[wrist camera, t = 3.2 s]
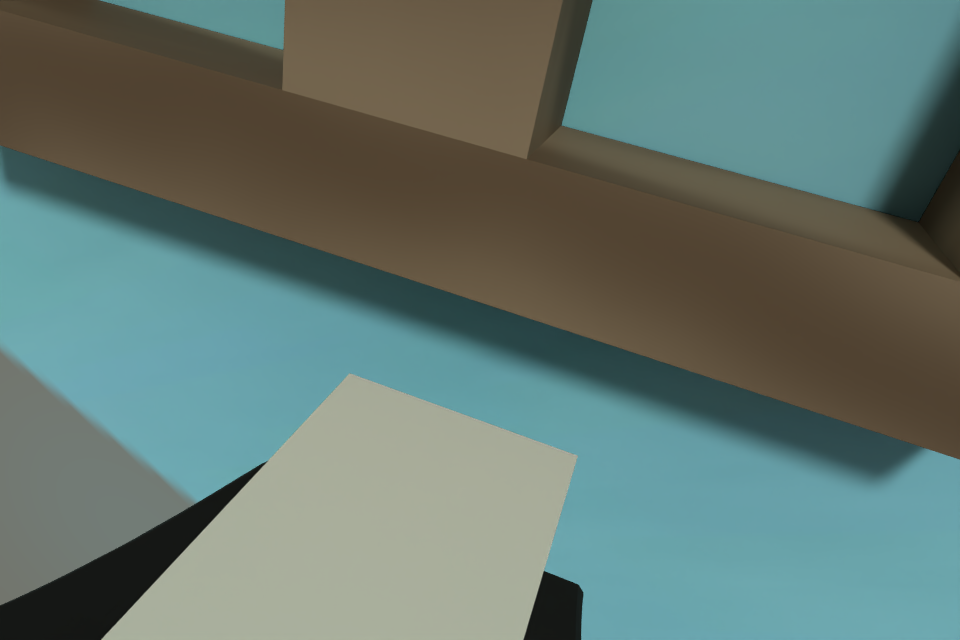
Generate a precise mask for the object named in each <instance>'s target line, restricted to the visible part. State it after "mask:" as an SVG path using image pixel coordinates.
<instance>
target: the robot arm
mask: <svg viewBox="0 0 960 640" xmlns="http://www.w3.org/2000/svg"><path fill="white" fill-rule="evenodd" d="M267 462H268V461H267ZM267 462H265V463H262V464H261V465H259V466H257V467H256V468H254V469H252V470H251V471H249V472H247V473H246V474H244V475H242V476H241V477H239V478H237V479H236V480H234V481H233V482H231V483H229V484H228V485H226V486H224V487H223V488H221V489H219V490H218V491H216V492H214V493H213V494H211V495H209V496H208V497H206V498H204V499H203V500H201V501H199V502H198V503H196V504H194V505H193V506H191V507H189V508H188V509H186V510H184V511H183V512H181V513H179V514H177V515H176V516H174V517H172V518H170V519H169V520H167V521H165V522H163V523H162V524H160V525H158V526H156V527H154V528H153V529H151V530H149V531H147V532H146V533H144V534H142V535H140V536H139V537H137V538H135V539H133V540H132V541H130V542H128V543H126V544H124V545H122V546H121V547H118V548H117V549H115V550H113V551H111V552H109V553H107V554H105V555H103V556H101V557H99V558H97V559H95V560H93V561H91V562H90V563H88V564H86V565H84V566H82V567H80V568H78V569H76V570H74V571H72V572H70V573H68V574H66V575H65V576H62V577H60V578H58V579H56V580H54V581H52V582H50V583H48V584H46V585H44V586H42V587H40V588H38V589H36V590H33V591H31V592H29V593H27V594H25V595H22V596H20V597H18V598H16V599H14V600H12V601H9V602H7V603H5V604H3V605H0V640H101V639H102V638H103V637H104V636H105V635H106V634H107V633H108V632H109V631H110V630H111V629H112V628H113V627H114V625H115V624H116V623H117V622H118V621H119V620H120V619H121V618H122V617H123V616H124V615H125V614H126V613H127V612H128V610H129V609H130V608H131V607H132V606H133V605H134V604H135V603H136V602H137V601H138V600H139V599H140V598H141V597H142V595H143V594H144V593H145V592H146V591H147V590H148V589H149V588H150V587H151V586H152V585H153V584H154V583H155V582H156V580H157V579H158V578H159V577H160V576H161V575H162V574H163V573H164V572H165V571H166V570H167V569H168V568H169V567H170V565H171V564H172V563H173V562H174V561H175V560H176V559H177V558H178V557H179V556H180V555H181V554H182V553H183V552H184V550H185V549H186V548H187V547H188V546H189V545H190V544H191V543H192V542H193V541H194V540H195V539H196V538H197V537H198V535H199V534H200V533H201V532H202V531H203V530H204V529H205V528H206V527H207V526H208V525H209V524H210V523H211V522H212V520H213V519H214V518H215V517H216V516H217V515H218V514H219V513H220V512H221V511H222V510H223V509H224V508H225V507H226V505H227V504H228V503H229V502H230V501H231V500H232V499H233V498H234V497H235V496H236V495H237V494H238V493H239V492H240V490H241V489H242V488H243V487H244V486H245V485H246V484H247V483H248V482H249V481H250V480H251V479H252V478H253V477H254V475H255V474H256V473H257V472H258V471H259V470H260V469H261V468H262V467H263V466H264V465H265V464H266V463H267ZM582 602H583V591H582V590H581V588H580V586H579V585H578V584H575V583H573V582H570V581H568V580H565V579H563V578H560V577H558V576H555V575H553V574H550V573H548V572H545V571H544V572H543V575H542V579H541V582H540V585H539V589H538V592H537V595H536V599H535V602H534V606H533V609H532V612H531V616H530V619H529V622H528V626H527V629H526V633H525V636H524V639H523V640H581V619H582Z"/></svg>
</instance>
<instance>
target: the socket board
mask: <svg viewBox="0 0 960 640" xmlns="http://www.w3.org/2000/svg"><path fill="white" fill-rule="evenodd" d="M591 4H592V0H285V21H284V50H280V49H277V48H273V47H269V46H266V45H262V44H258V43H255V42H251V41H247V40H244V39H240V38H236V37H232V36H229V35H225V34H221V33H218V32H214V31H210V30H207V29H203V28H199V27H196V26H192V25H188V24H185V23H181V22H177V21H173V20H170V19H166V18H162V17H159V16H155V15H151V14H148V13H144V12H140V11H137V10H133V9H129V8H125V7H122V6H118V5H114V4H111V3H107V2H103V1H100V0H0V145H1V146H4V147H7V148H10V149H13V150H16V151H19V152H22V153H25V154H28V155H32V156H35V157H38V158H41V159H44V160H47V161H50V162H53V163H56V164H59V165H62V166H65V167H68V168H71V169H74V170H77V171H80V172H83V173H86V174H90V175H93V176H96V177H99V178H102V179H105V180H108V181H111V182H114V183H117V184H120V185H123V186H126V187H129V188H132V189H135V190H138V191H141V192H145V193H148V194H151V195H154V196H157V197H160V198H163V199H166V200H169V201H172V202H175V203H178V204H181V205H184V206H187V207H190V208H193V209H196V210H200V211H203V212H206V213H209V214H212V215H215V216H218V217H221V218H224V219H227V220H230V221H233V222H236V223H239V224H242V225H245V226H248V227H251V228H254V229H258V230H261V231H264V232H267V233H270V234H273V235H276V236H279V237H282V238H285V239H288V240H291V241H294V242H297V243H300V244H303V245H306V246H309V247H313V248H316V249H319V250H322V251H325V252H328V253H331V254H334V255H337V256H340V257H343V258H346V259H349V260H352V261H355V262H358V263H361V264H364V265H367V266H371V267H374V268H377V269H380V270H383V271H386V272H389V273H392V274H395V275H398V276H401V277H404V278H407V279H410V280H413V281H416V282H419V283H422V284H426V285H429V286H432V287H435V288H438V289H441V290H444V291H447V292H450V293H453V294H456V295H459V296H462V297H465V298H468V299H471V300H474V301H477V302H480V303H484V304H487V305H490V306H493V307H496V308H499V309H502V310H505V311H508V312H511V313H514V314H517V315H520V316H523V317H526V318H529V319H532V320H535V321H539V322H542V323H545V324H548V325H551V326H554V327H557V328H560V329H563V330H566V331H569V332H572V333H575V334H578V335H581V336H584V337H587V338H590V339H593V340H597V341H600V342H603V343H606V344H609V345H612V346H615V347H618V348H621V349H624V350H627V351H630V352H633V353H636V354H639V355H642V356H645V357H648V358H652V359H655V360H658V361H661V362H664V363H667V364H670V365H673V366H676V367H679V368H682V369H685V370H688V371H691V372H694V373H697V374H700V375H703V376H707V377H710V378H713V379H716V380H719V381H722V382H725V383H728V384H731V385H734V386H737V387H740V388H743V389H746V390H749V391H752V392H755V393H758V394H761V395H765V396H768V397H771V398H774V399H777V400H780V401H783V402H786V403H789V404H792V405H795V406H798V407H801V408H804V409H807V410H810V411H813V412H816V413H820V414H823V415H826V416H829V417H832V418H835V419H838V420H841V421H844V422H847V423H850V424H853V425H856V426H859V427H862V428H865V429H868V430H871V431H874V432H878V433H881V434H884V435H887V436H890V437H893V438H896V439H899V440H902V441H905V442H908V443H911V444H914V445H917V446H920V447H923V448H926V449H929V450H933V451H936V452H939V453H942V454H945V455H948V456H951V457H954V458H957V459H960V151H959V152H958V154H957V156H956V158H955V159H954V161H953V163H952V165H951V166H950V168H949V170H948V172H947V173H946V175H945V177H944V179H943V180H942V182H941V184H940V186H939V188H938V189H937V191H936V193H935V195H934V196H933V198H932V200H931V202H930V203H929V205H928V207H927V209H926V210H925V212H924V214H923V216H922V217H921V219H920V221H919V222H915V221H911V220H908V219H904V218H900V217H897V216H893V215H889V214H886V213H882V212H878V211H875V210H871V209H867V208H863V207H860V206H856V205H852V204H849V203H845V202H841V201H838V200H834V199H830V198H827V197H823V196H819V195H816V194H812V193H808V192H804V191H801V190H797V189H793V188H790V187H786V186H782V185H779V184H775V183H771V182H768V181H764V180H760V179H756V178H753V177H749V176H745V175H742V174H738V173H734V172H731V171H727V170H723V169H720V168H716V167H712V166H709V165H705V164H701V163H697V162H694V161H690V160H686V159H683V158H679V157H675V156H672V155H668V154H664V153H661V152H657V151H653V150H649V149H646V148H642V147H638V146H635V145H631V144H627V143H624V142H620V141H616V140H613V139H609V138H605V137H601V136H598V135H594V134H590V133H587V132H583V131H579V130H576V129H572V128H568V127H565V126H561V125H562V121H563V117H564V113H565V109H566V105H567V101H568V97H569V93H570V89H571V85H572V81H573V77H574V73H575V69H576V65H577V61H578V57H579V53H580V49H581V45H582V41H583V37H584V33H585V29H586V25H587V21H588V17H589V13H590V8H591Z"/></svg>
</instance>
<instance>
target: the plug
mask: <svg viewBox="0 0 960 640" xmlns="http://www.w3.org/2000/svg"><path fill="white" fill-rule="evenodd" d="M577 457H578V456H577V455H574V454H571V453H569V452H566V451H563V450H560V449H557V448H555V447H552V446H549V445H546V444H544V443H541V442H538V441H535V440H533V439H530V438H527V437H524V436H522V435H519V434H516V433H513V432H510V431H508V430H505V429H502V428H499V427H497V426H494V425H491V424H488V423H486V422H483V421H480V420H477V419H474V418H472V417H469V416H466V415H463V414H461V413H458V412H455V411H452V410H450V409H447V408H444V407H441V406H438V405H436V404H433V403H430V402H427V401H425V400H422V399H419V398H416V397H414V396H411V395H408V394H405V393H403V392H400V391H397V390H394V389H391V388H389V387H386V386H383V385H380V384H378V383H375V382H372V381H369V380H367V379H364V378H361V377H358V376H355V375H353V374H349V375H348V376H347V377H346V378H345V379H344V380H343V381H342V382H341V383H340V384H339V385H338V387H337V388H336V389H335V390H334V391H333V392H332V393H331V394H330V395H329V396H328V397H327V398H326V399H325V400H324V402H323V403H322V404H321V405H320V406H319V407H318V408H317V409H316V410H315V411H314V412H313V413H312V414H311V415H310V417H309V418H308V419H307V420H306V421H305V422H304V423H303V424H302V425H301V426H300V427H299V428H298V429H297V430H296V432H295V433H294V434H293V435H292V436H291V437H290V438H289V439H288V440H287V441H286V442H285V443H284V444H283V445H282V447H281V448H280V449H279V450H278V451H277V452H276V453H275V454H274V455H273V456H272V457H271V458H270V459H269V460H268V462H267V463H266V464H265V465H264V466H263V467H262V468H261V469H260V470H259V471H258V472H257V473H256V474H255V475H254V477H253V478H252V479H251V480H250V481H249V482H248V483H247V484H246V485H245V486H244V487H243V488H242V489H241V490H240V492H239V493H238V494H237V495H236V496H235V497H234V498H233V499H232V500H231V501H230V502H229V503H228V504H227V505H226V507H225V508H224V509H223V510H222V511H221V512H220V513H219V514H218V515H217V516H216V517H215V518H214V519H213V520H212V522H211V523H210V524H209V525H208V526H207V527H206V528H205V529H204V530H203V531H202V532H201V533H200V534H199V535H198V537H197V538H196V539H195V540H194V541H193V542H192V543H191V544H190V545H189V546H188V547H187V548H186V549H185V550H184V552H183V553H182V554H181V555H180V556H179V557H178V558H177V559H176V560H175V561H174V562H173V563H172V564H171V565H170V567H169V568H168V569H167V570H166V571H165V572H164V573H163V574H162V575H161V576H160V577H159V578H158V579H157V580H156V582H155V583H154V584H153V585H152V586H151V587H150V588H149V589H148V590H147V591H146V592H145V593H144V594H143V595H142V597H141V598H140V599H139V600H138V601H137V602H136V603H135V604H134V605H133V606H132V607H131V608H130V609H129V610H128V612H127V613H126V614H125V615H124V616H123V617H122V618H121V619H120V620H119V621H118V622H117V623H116V624H115V625H114V627H113V628H112V629H111V630H110V631H109V632H108V633H107V634H106V635H105V636H104V637H103V638H102V639H101V640H523V639H524V636H525V633H526V629H527V626H528V622H529V619H530V616H531V612H532V609H533V606H534V602H535V599H536V595H537V592H538V589H539V585H540V582H541V579H542V575H543V572H544V568H545V565H546V562H547V558H548V555H549V551H550V548H551V545H552V541H553V538H554V535H555V531H556V528H557V524H558V521H559V518H560V514H561V511H562V508H563V504H564V501H565V497H566V494H567V491H568V487H569V484H570V480H571V477H572V474H573V470H574V467H575V464H576V460H577Z"/></svg>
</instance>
